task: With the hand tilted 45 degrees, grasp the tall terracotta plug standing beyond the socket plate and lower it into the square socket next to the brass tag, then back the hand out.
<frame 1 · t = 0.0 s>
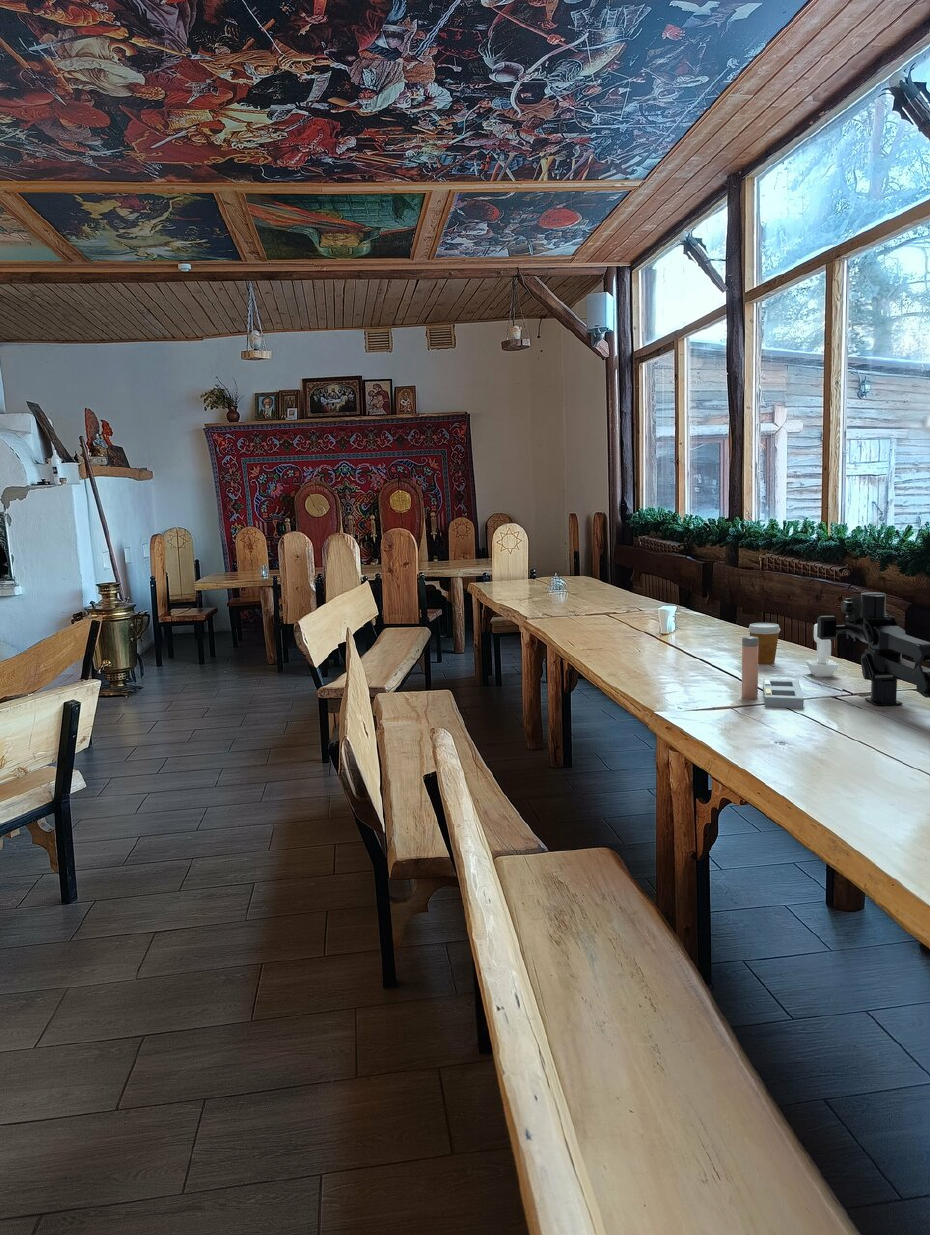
hand: (840, 621, 223), 17 cm above the table, tool horizontal, fingers open, 9 cm apart
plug: (749, 697, 211), on the table
socket plate: (782, 697, 210), on the table
disposable coffee cup: (763, 663, 252), on the table
figurine: (821, 675, 232), on the table
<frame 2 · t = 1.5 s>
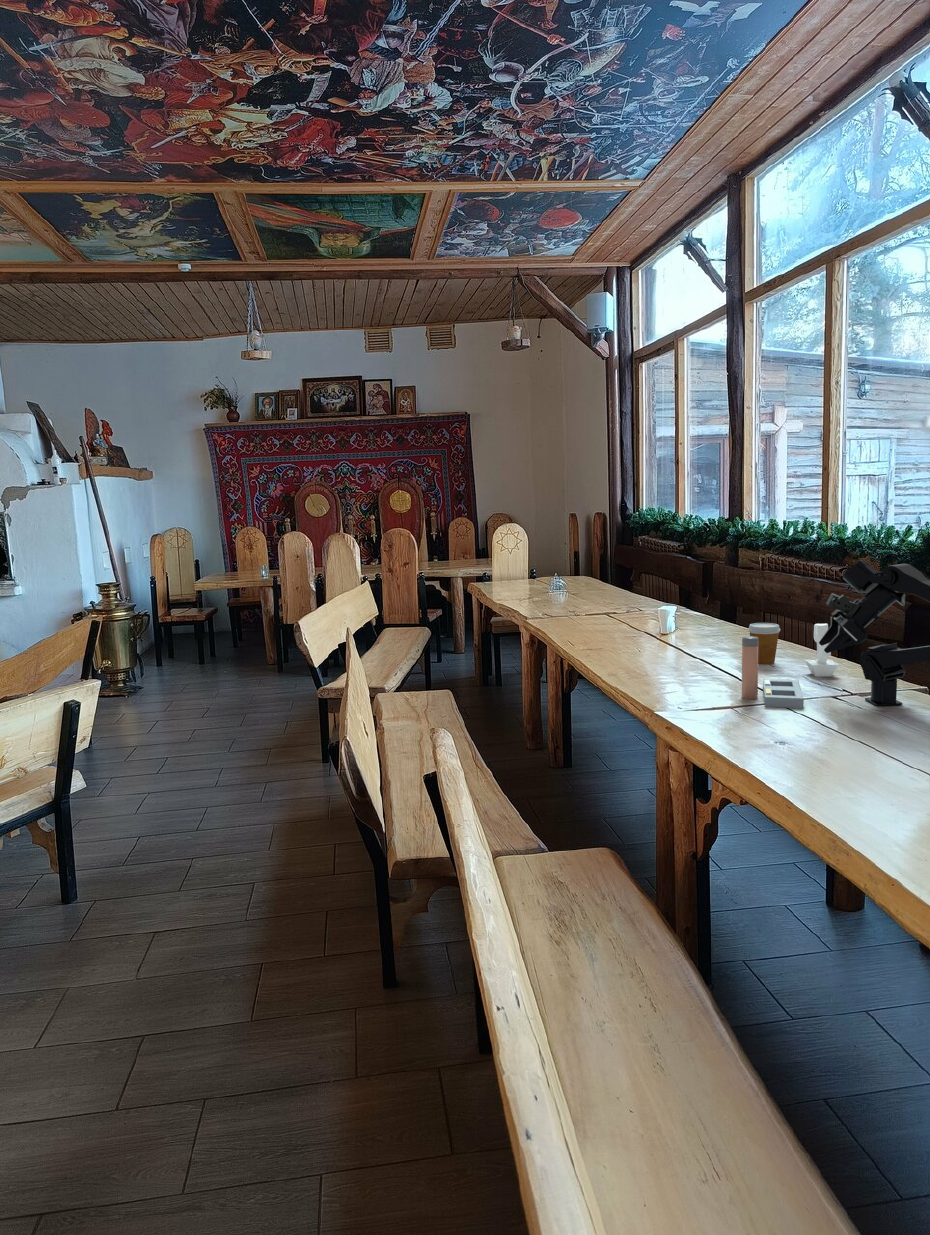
hand: (822, 647, 204), 14 cm above the table, tool tilted 45°, fingers open, 9 cm apart
nothing on the table moved.
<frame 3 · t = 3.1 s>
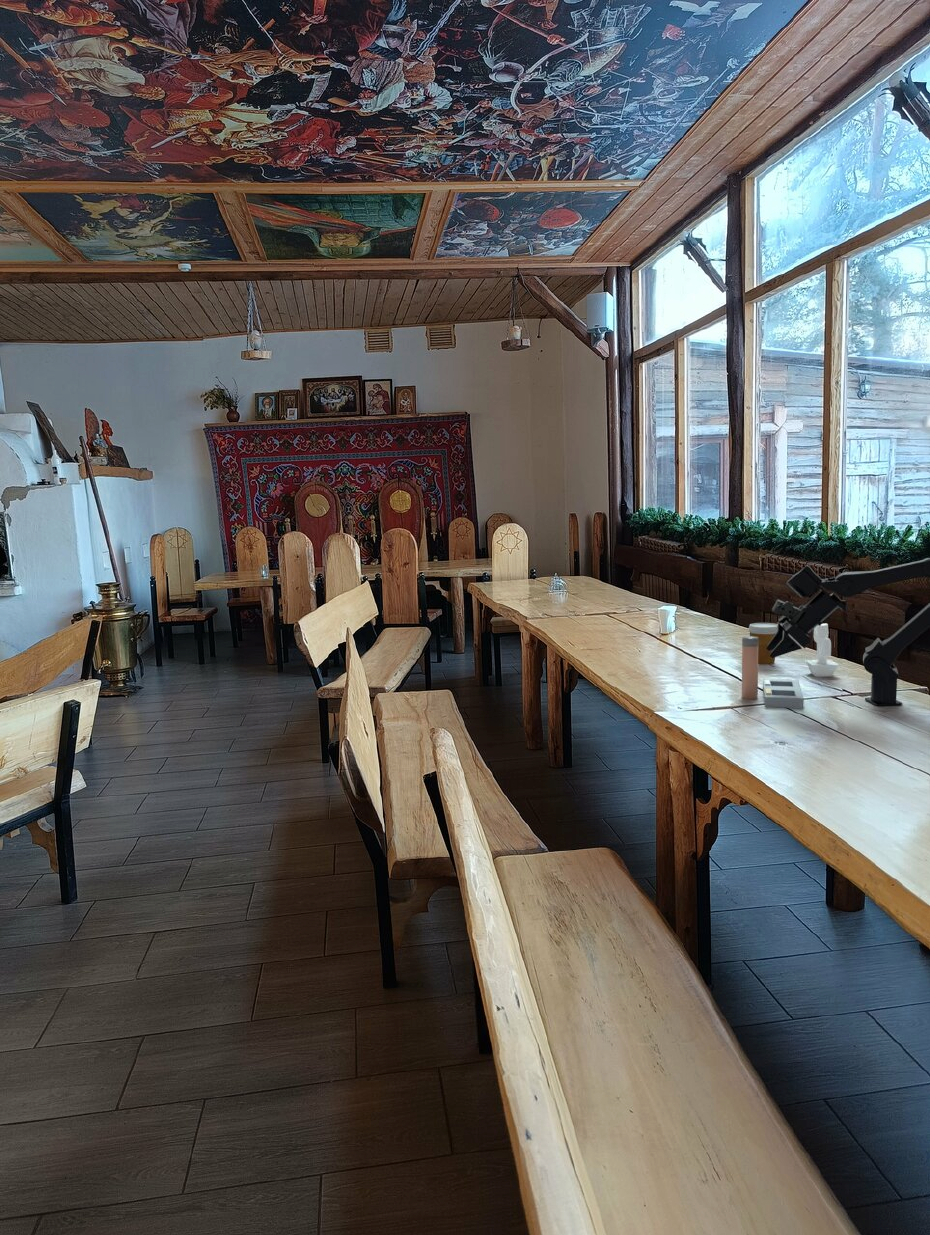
hand: (768, 653, 208), 12 cm above the table, tool tilted 45°, fingers open, 9 cm apart
nothing on the table moved.
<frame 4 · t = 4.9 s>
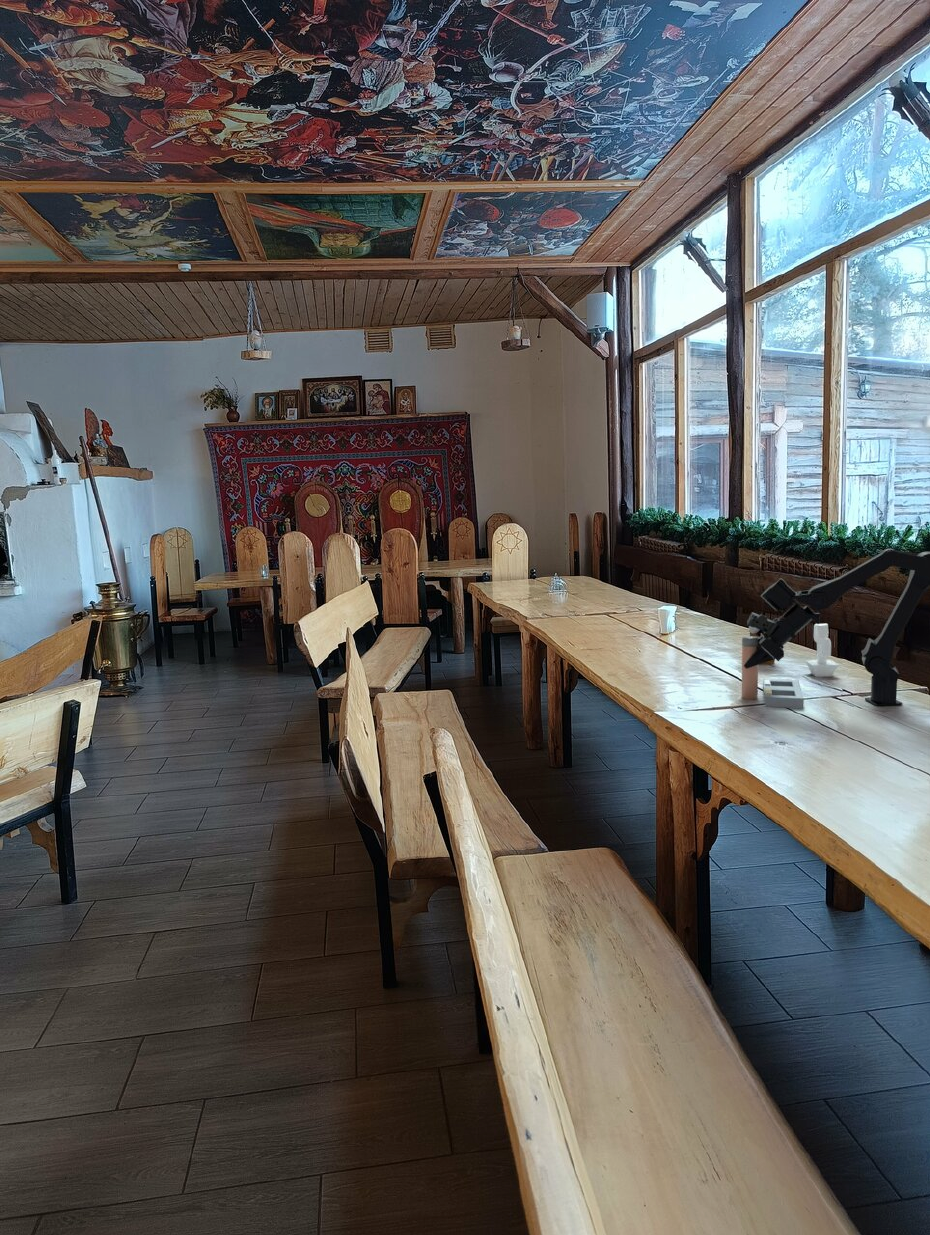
hand: (744, 665, 210), 9 cm above the table, tool tilted 45°, fingers closed on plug, 4 cm apart
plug: (749, 697, 211), on the table, touching gripper
everything else where it was.
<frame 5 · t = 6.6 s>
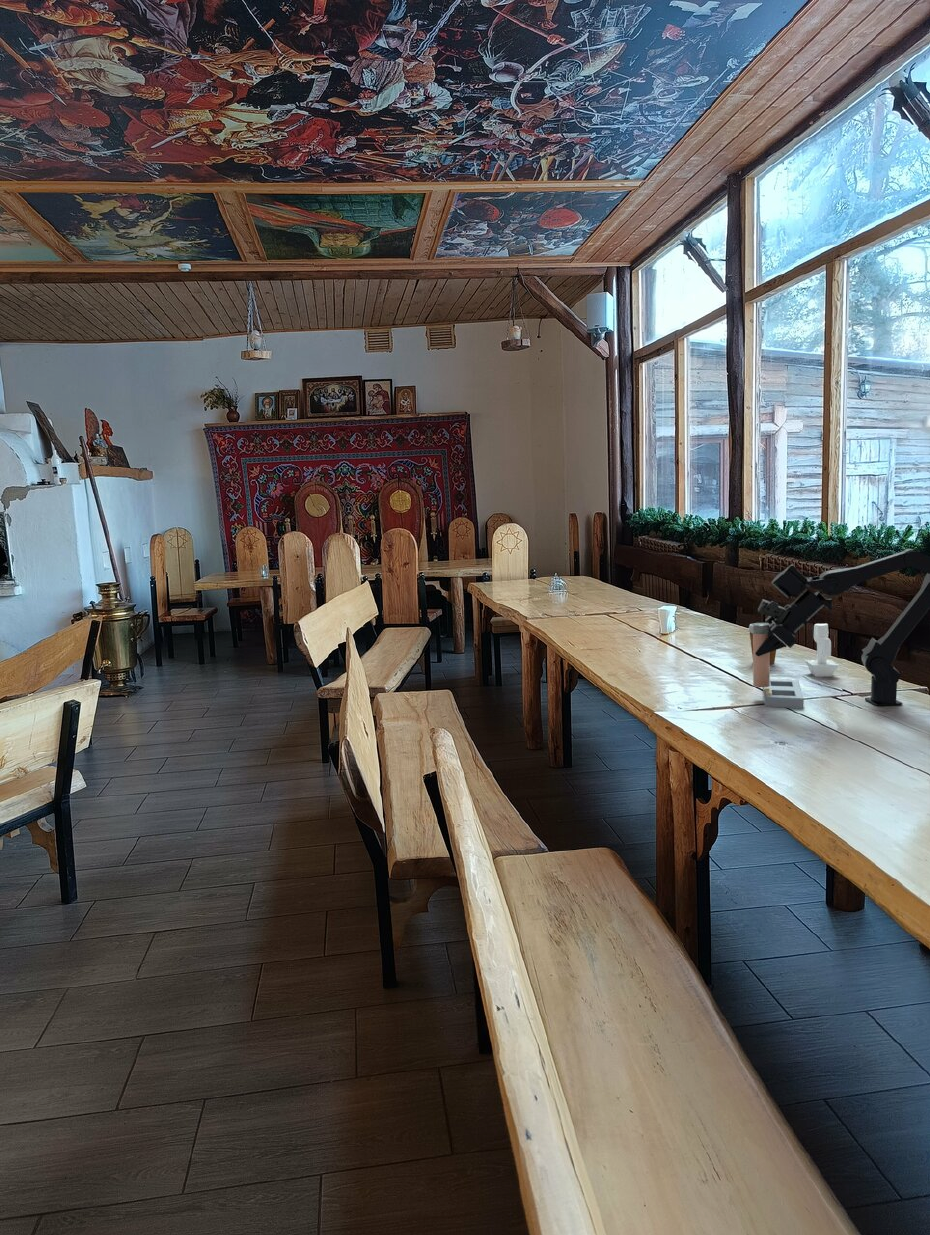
hand: (755, 653, 208), 12 cm above the table, tool tilted 45°, fingers closed on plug, 4 cm apart
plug: (761, 685, 209), point 4 cm above the table, touching gripper
everything else where it was.
when the fingers open (9 cm above the table, at t = 8.4 s): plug stays where it is, resting in socket plate.
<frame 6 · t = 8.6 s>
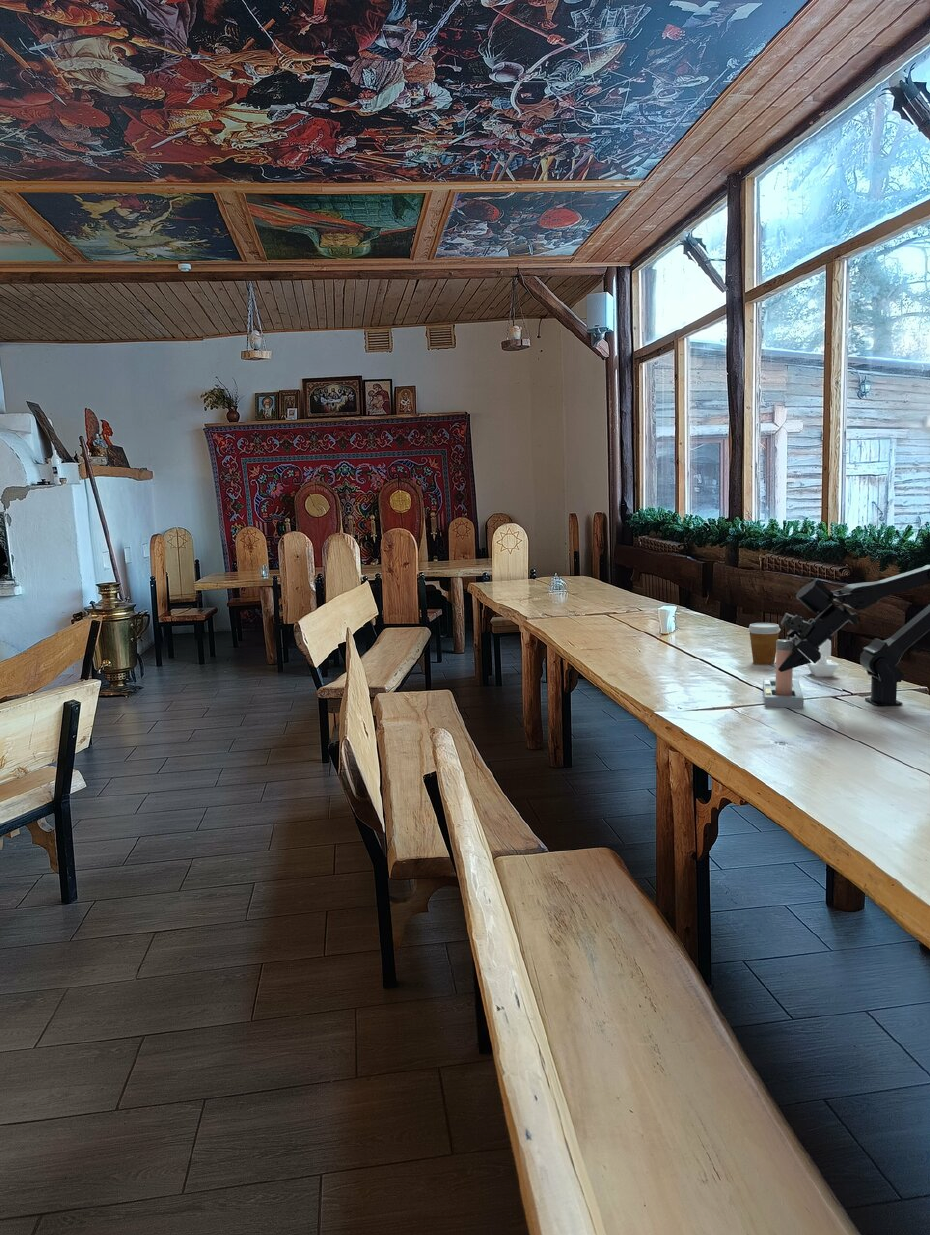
hand: (777, 667, 204), 9 cm above the table, tool tilted 45°, fingers open, 6 cm apart
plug: (783, 702, 205), resting in socket plate
everything else where it was.
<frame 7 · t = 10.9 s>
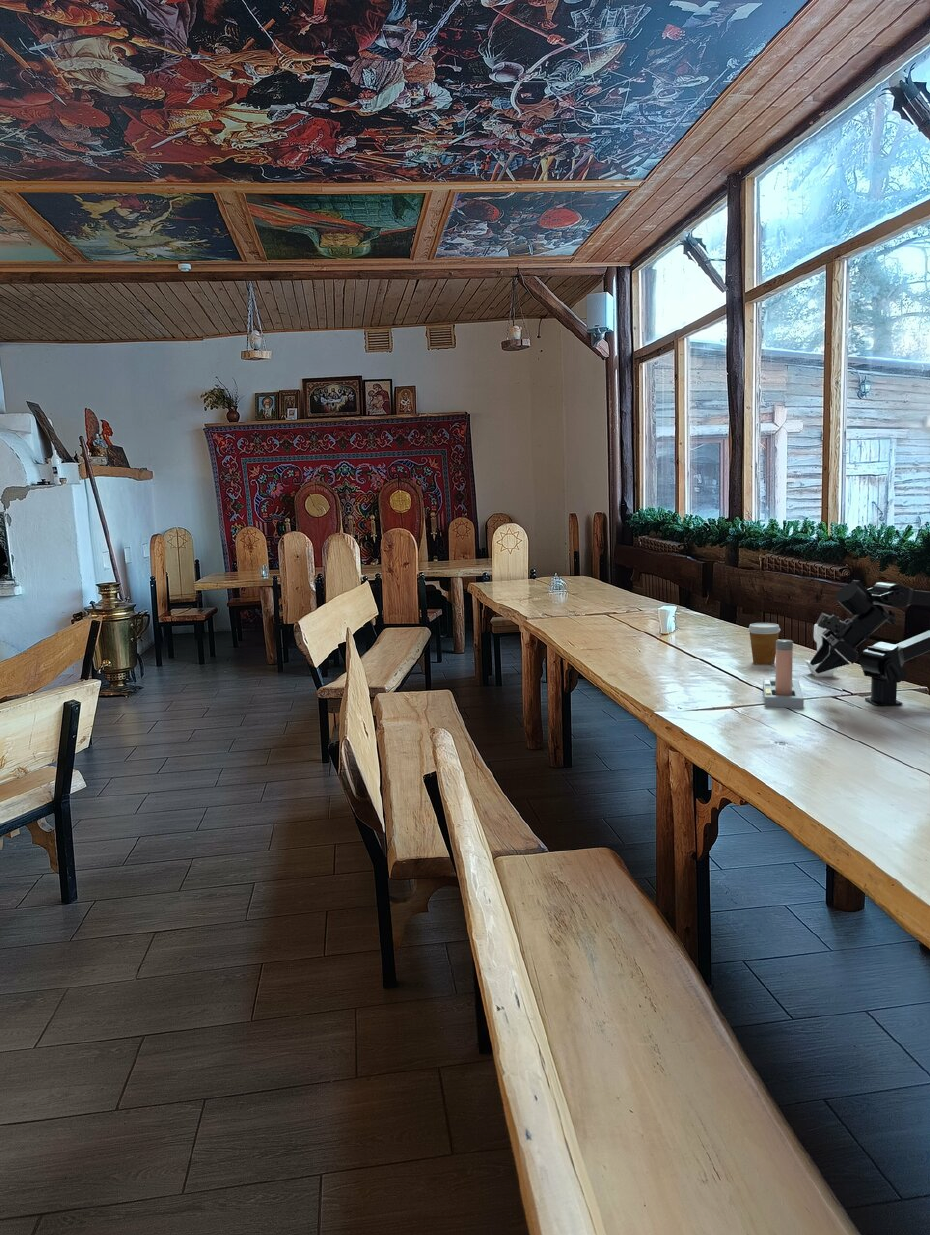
hand: (813, 668, 202), 9 cm above the table, tool tilted 45°, fingers open, 9 cm apart
nothing on the table moved.
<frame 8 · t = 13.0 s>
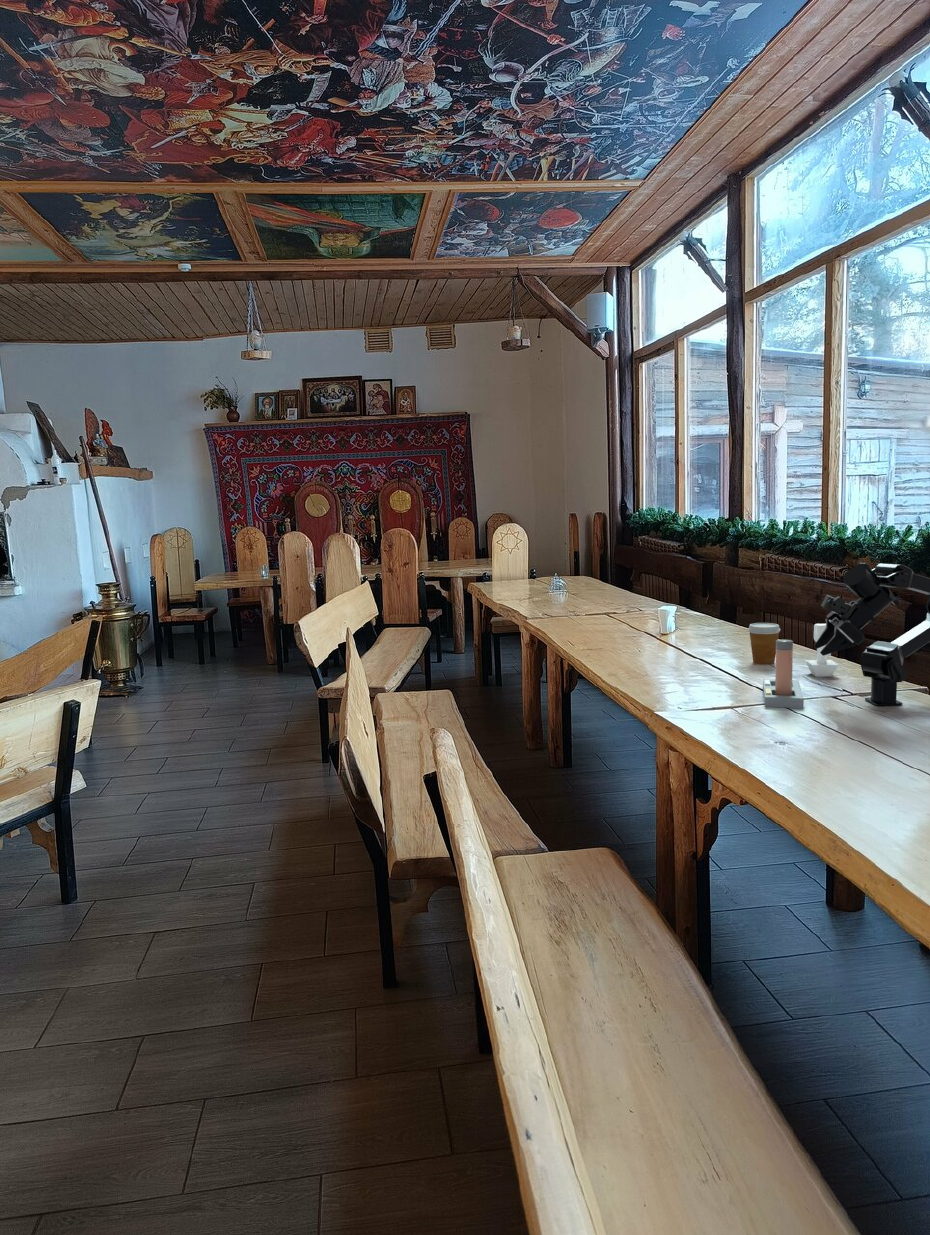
hand: (818, 650, 201), 14 cm above the table, tool tilted 45°, fingers open, 9 cm apart
nothing on the table moved.
at the end: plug 0.1 cm from the target spot on the socket plate, point 0.0 cm above the socket plate's base; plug tilted 0°; the gripper is holding nothing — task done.
